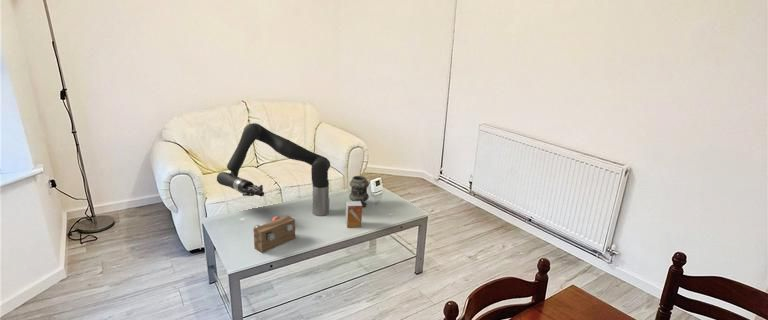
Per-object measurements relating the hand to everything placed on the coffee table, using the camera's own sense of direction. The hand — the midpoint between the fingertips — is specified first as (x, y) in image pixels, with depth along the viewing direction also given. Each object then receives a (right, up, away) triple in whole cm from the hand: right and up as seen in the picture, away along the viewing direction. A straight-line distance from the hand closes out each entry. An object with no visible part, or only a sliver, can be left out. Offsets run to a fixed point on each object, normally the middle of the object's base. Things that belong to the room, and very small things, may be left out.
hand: (262, 194), depth 217 cm
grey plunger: (+5, -19, -15) cm, 25 cm away
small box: (+46, -18, +15) cm, 52 cm away
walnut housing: (+9, -24, -9) cm, 27 cm away
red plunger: (+12, -17, -6) cm, 21 cm away
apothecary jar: (+47, -10, +41) cm, 63 cm away
